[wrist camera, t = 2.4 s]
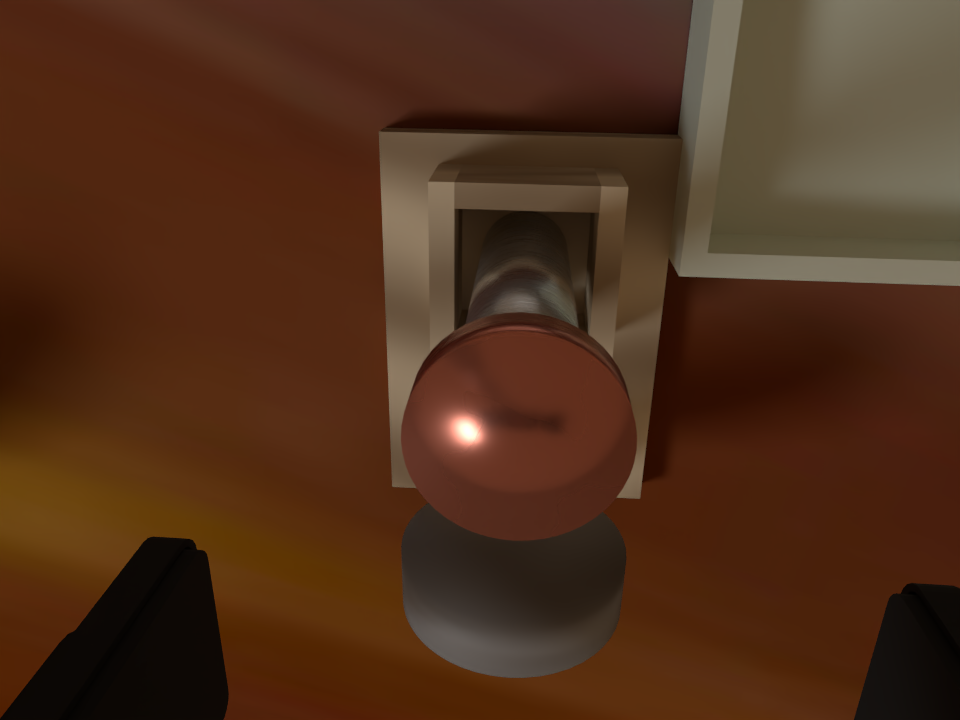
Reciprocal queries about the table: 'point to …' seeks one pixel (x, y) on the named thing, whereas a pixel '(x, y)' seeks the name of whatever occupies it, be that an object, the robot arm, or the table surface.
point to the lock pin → (520, 399)
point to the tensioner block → (601, 313)
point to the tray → (820, 142)
